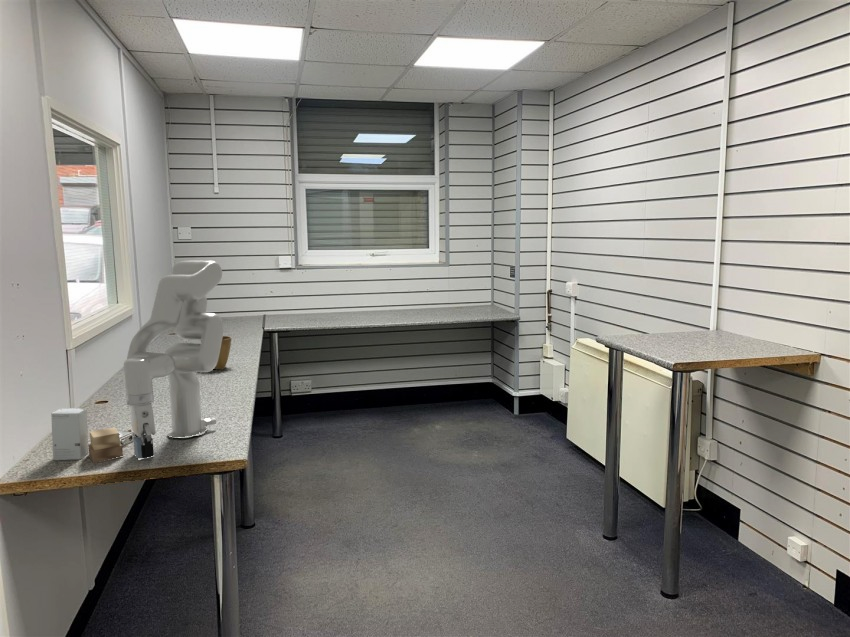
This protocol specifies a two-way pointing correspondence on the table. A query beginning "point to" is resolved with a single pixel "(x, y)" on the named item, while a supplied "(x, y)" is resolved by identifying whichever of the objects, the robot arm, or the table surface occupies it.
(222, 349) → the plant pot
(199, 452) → the table surface
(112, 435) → the oak slab
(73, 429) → the skincare box
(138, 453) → the blue block
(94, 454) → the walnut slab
